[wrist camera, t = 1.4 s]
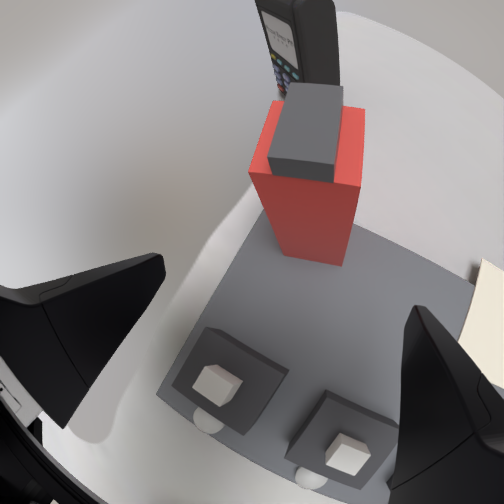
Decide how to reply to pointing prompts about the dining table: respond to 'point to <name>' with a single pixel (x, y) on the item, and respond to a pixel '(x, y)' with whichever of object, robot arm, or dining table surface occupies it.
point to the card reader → (301, 41)
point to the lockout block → (311, 171)
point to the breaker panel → (324, 357)
